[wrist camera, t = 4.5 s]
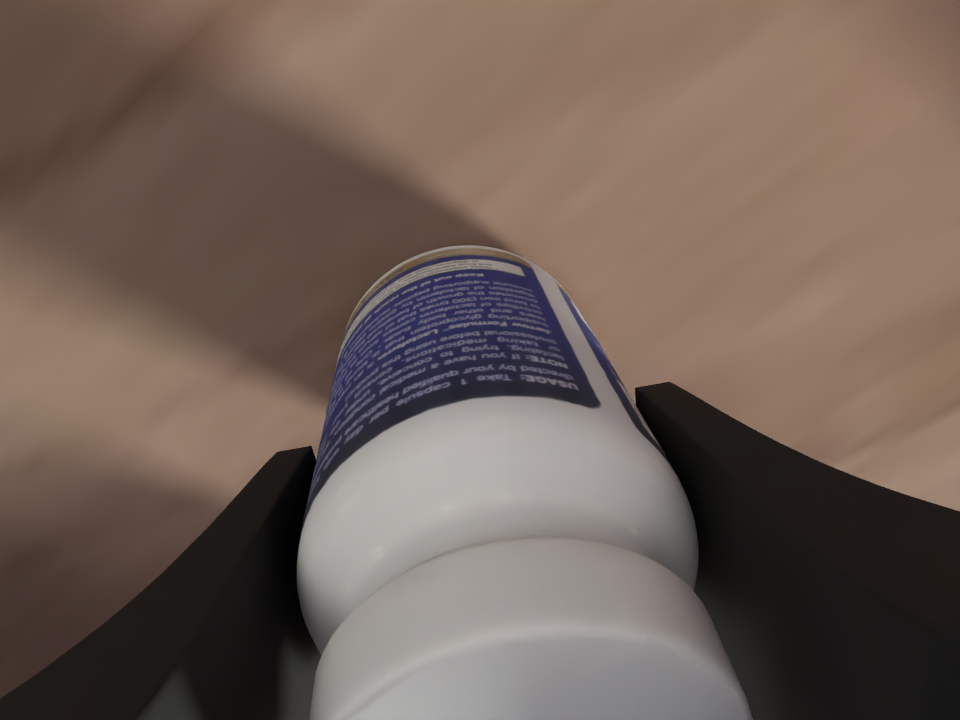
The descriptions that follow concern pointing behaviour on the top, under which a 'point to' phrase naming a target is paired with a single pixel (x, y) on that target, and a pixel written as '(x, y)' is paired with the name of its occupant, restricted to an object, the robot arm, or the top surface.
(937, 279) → the top surface
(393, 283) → the pill bottle
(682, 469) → the robot arm
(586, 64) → the top surface
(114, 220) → the top surface
